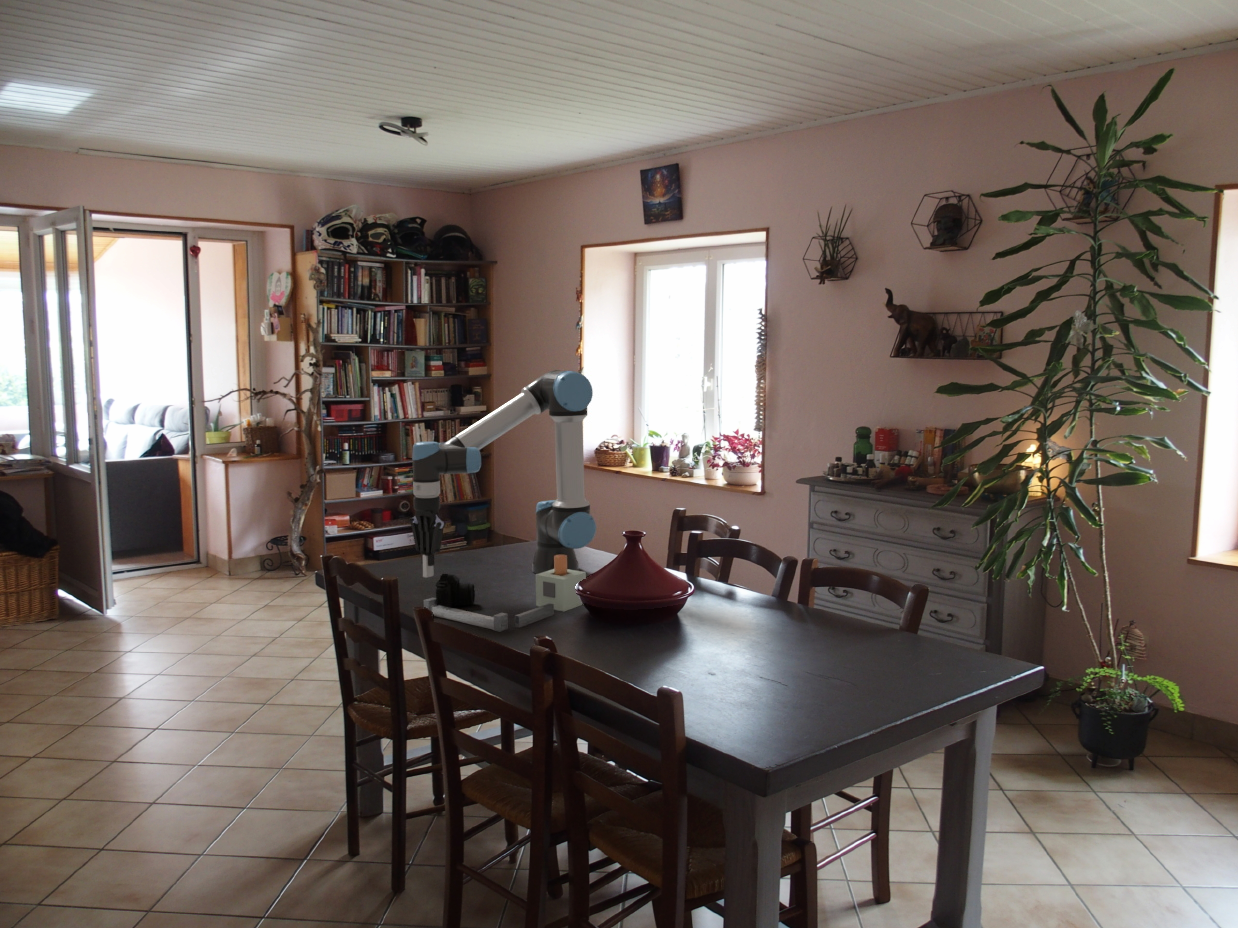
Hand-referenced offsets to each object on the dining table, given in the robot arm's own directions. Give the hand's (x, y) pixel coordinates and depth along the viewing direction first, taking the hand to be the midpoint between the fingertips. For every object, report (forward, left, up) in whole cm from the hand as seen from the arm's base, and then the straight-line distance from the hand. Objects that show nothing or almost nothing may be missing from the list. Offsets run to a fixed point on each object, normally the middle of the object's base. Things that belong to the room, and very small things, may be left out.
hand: (428, 576), depth 274 cm
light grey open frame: (+2, +26, -7) cm, 27 cm away
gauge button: (-16, +36, +1) cm, 40 cm away
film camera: (+1, +12, -7) cm, 14 cm away
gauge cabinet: (-16, +36, -7) cm, 40 cm away
